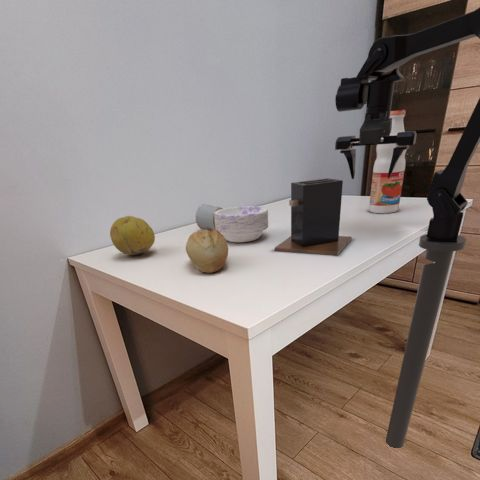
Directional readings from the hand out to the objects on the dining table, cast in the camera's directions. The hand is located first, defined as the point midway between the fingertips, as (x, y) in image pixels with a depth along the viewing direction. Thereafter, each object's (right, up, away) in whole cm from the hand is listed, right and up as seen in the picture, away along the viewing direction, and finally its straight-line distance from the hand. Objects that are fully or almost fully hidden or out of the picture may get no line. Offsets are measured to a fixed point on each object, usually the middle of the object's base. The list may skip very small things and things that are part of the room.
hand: (370, 178), depth 91 cm
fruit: (-63, -20, +3) cm, 66 cm away
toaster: (-16, -18, -3) cm, 24 cm away
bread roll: (-42, -26, -10) cm, 51 cm away
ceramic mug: (-43, -6, +21) cm, 48 cm away
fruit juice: (+14, +1, +25) cm, 28 cm away
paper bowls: (-34, -14, +8) cm, 38 cm away
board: (-16, -19, -3) cm, 25 cm away
